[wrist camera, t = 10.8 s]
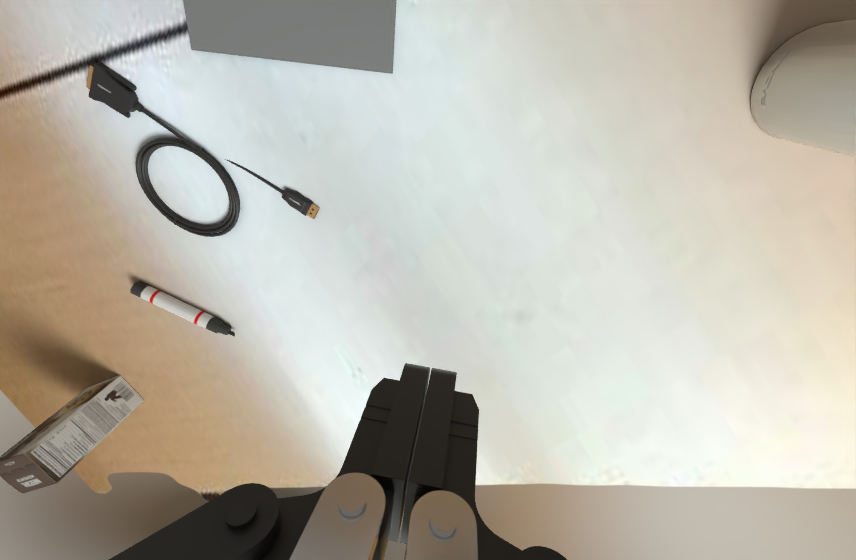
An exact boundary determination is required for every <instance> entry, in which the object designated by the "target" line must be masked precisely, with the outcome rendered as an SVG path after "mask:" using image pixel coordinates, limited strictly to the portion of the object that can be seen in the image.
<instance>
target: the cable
mask: <svg viewBox="0 0 856 560" xmlns="http://www.w3.org/2000/svg"><path fill="white" fill-rule="evenodd" d="M87 88H89V89H90V91H89V97H90V98H92V99H93V100H97V101H101V102H103V103H105V104H106V105H108V106H110V107H111V108H113V109H114V110H116V111H117V112H119V113H121V114H122V115H124V116H126V117H127V118H129V117H130V114H129V113H127V112H134V111H136V110H138V111H139V112H143V113H145V114H146V115H148V116H149V117H150V118H152V119H153V120H155V121H156V122H158V123H159V124H160V125H162V126H163V127H165V128H166V129H168V130H169V131H170V132H172V133H173V134H175V135H176V136H177V137H178V138H180V139H181V140H179V139H174V138H158V139H155V140H152V141H150V142H149V143H147V144H146V145H144V146H143V147H142V148H141V149H140V151H139V153H138V155H137V158H136V173H137V177H138V180H139V183H140V185H141V187H142V189H143V191H144V193H145V194H146V196H147V197H148V199H149V200H150V201H151V203H152V204H153V205H154V206H155V207H156V208H157V209H158V210H159V211H160V212H161V213H162V214H163V215H164V216H165V217H166V218H168V219H169V220H170V221H171V222H173V223H174V224H175V225H177V226H179V227H181V228H182V229H184V230H186V231H189V232H191V233H194V234H197V235H201V236H209V237H214V236H220V235H223V234H226V233H227V232H229V231H230V230H231V229H232V228H233V227H234V226H235V224H236V223H237V220H238V217H239V212H240V199H239V194H238V191H237V188H236V186H235V184H234V182H233V180H232V178H231V177H230V175H229V174H228V172H227V171H226V170H225V168H224V167H223V166H222V165H221V164H220V163H219V162H218V161H217V160H216V159H215V158H214V157H213V156H211V155H210V154H209V153H207V152H206V151H204V150H203V148H202V149H201V148H200V147H198V146H196V145H194V144H192V143H190V142H189V141H188V140H186V139H185V138H184V137H182V136H181V135H180V134H179V133H177V132H176V131H175V130H173V129H172V128H170V127H169V126H167V125H166V124H165V123H163V122H162V121H160V120H159V119H158V118H156V117H155V116H153V115H152V114H150V113H149V112H148V111H146V110H145V109H144V107H143V106H142V105H140V104H139V101H138V97H137V95H136V93H135V92H134V91H135V90H136V89H137V88H136V87H135V86H134V85H132V84H131V83H130V82H128V81H127V80H125V79H124V78H123V77H121V76H120V75H118V74H117V73H115V72H114V71H112V70H110V69H109V68H108V67H107V66H106V65H104V64H103V63H94V66H90V68H89V74H88V80H87ZM133 90H134V91H133ZM164 146H177V147H181V148H184V149H186V150H189V151H191V152H193V153H194V154H196V155H198V156H199V157H201V158H202V159H203V160H204V161H206V162H207V163H208V164H209V165H210V166H211V167H212V168H213V169H214V170H215V171H216V173H217V174H218V175H219V177H220V178H221V180H222V181H223V183H224V185H225V187H226V189H227V192H228V196H229V201H230V208H229V213H228V215H227V217H226V218H225V219H224V220H223V221H221V222H220V223H218V224H214V225H201V224H196V223H193V222H190V221H188V220H186V219H184V218H182V217H181V216H179V215H177V214H176V213H175V212H173V211H172V210H171V209H170V208H169V207H167V206H166V205H165V204H164V202H163V201H162V200H161V199H160V198H159V196H158V195H157V193H156V192H155V190H154V188H153V186H152V184H151V182H150V179H149V175H148V161H149V158H150V156H151V154H152V153H153V152H154V151H155V150H156V149H158V148H161V147H164ZM225 160H226V159H225ZM227 161H229V160H227ZM229 162H231V163H233V164H235V165H236V166H238V167H240V168H242V169H244V170H246V171H247V172H249V173H250V174H252V175H254V176H255V177H257V178H259V179H260V180H262V181H263V182H265V183H266V184H268V185H270V186H271V187H273V188H274V189H276V190H277V191H279V192H281V193H282V194H283V195H282V198H283V199H284V200H285V201H286V202H287V203H288V204H289V205H290V206H291V207H293V208H295V209H296V210H298V211H299V212H301V213H302V214H303V215H305V216H306V215H308V216H309V217H311V218H312V219H314V218H315V216H316V214H317V212H318V210H319V209H320V208H319V207H318V206H316V205H315V204H313V202H312V201H311V200H309V199H307V198H305V197H304V196H302V195H301V194H300V193H298V192H296V191H292V190H290V189H288V188H287V189H286V190H285V191H283V190H281V189H280V188H278V187H277V186H275V185H273V184H272V183H270V182H269V181H267V180H265V179H264V178H262V177H260V176H259V175H257V174H255V173H253V172H252V171H250V170H248V169H246V168H244V167H242V166H240V165H238V164H236V163H234V162H232V161H229ZM221 231H222V232H221ZM217 232H219V233H217ZM211 233H213V234H211Z"/></svg>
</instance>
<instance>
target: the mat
mask: <svg viewBox="0 0 856 560" xmlns="http://www.w3.org/2000/svg"><path fill="white" fill-rule="evenodd" d="M184 6H185V13H186V19H187V25H188V31H189V37H190V43H191V49H192V50H197V51H206V52H214V53H223V54H231V55H240V56H248V57H256V58H265V59H273V60H282V61H290V62H299V63H307V64H316V65H324V66H333V67H341V68H349V69H358V70H366V71H375V72H383V73H393V55H394V35H395V15H396V0H184Z"/></svg>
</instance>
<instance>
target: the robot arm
mask: <svg viewBox="0 0 856 560" xmlns="http://www.w3.org/2000/svg"><path fill="white" fill-rule="evenodd" d="M751 111H752V115H753V117H754V120H755V122H756V123H757V125H758V126H759V127H760V128H761V129H762V130H763V131H764V132H766V133H767V134H769V135H771V136H774V137H777V138H780V139H784V140H788V141H792V142H796V143H800V144H804V145H807V146H811V147H815V148H820V149H824V150H828V151H832V152H836V153H840V154H844V155H848V156H852V157H856V19H854V20H847V21H839V22H832V23H825V24H821V25H818V26H815V27H811V28H809V29H807V30H805V31H803V32H801V33H799V34H797V35H795V36H794V37H792V38H791V39H789V40H788V41H787V42H785V43H784V44H783V45H782V46H780V47H779V48H778V49H777V50H776V51H775V52H774V53H773V54H772V55H771V57H770V58H769V59H768V60H767V62H766V63H765V64H764V66H763V67H762V69H761V71H760V72H759V74H758V76H757V78H756V81H755V83H754V86H753V89H752V95H751ZM429 373H430V368H429V367H424V366H418V365H413V364H407V363H405V366H404V369H403V372H402V375H401V378H400V381H398V380H393V379H387V378H383V379H382V380H381V381H380V382H379V383H378V384H377V385H376V386H375V387H374V388H373V389H372V391H371V393H370V396H369V398H368V401H367V404H366V407H365V409H364V411H363V414H362V417H361V420H360V422H359V424H358V427H357V430H356V432H355V435H354V437H353V440H352V443H351V445H350V448H349V450H348V453H347V456H346V458H345V461H344V463H343V466H342V468H341V470H340V472H339V474H338V475H337V477H336V478H335V479H334V480H333V481H332V482H330V483H329V484H328V486H326V487H325V488H323V489H322V490H320V491H317V492H315V493H312V494H309V495H304V496H295V497H287V498H279V499H277V497H276V495H275V493H274V492H273V491H272V490H271V489H270V488H269V487H267V486H265V485H261V484H255V483H250V484H243V485H240V486H237V487H234V488H232V489H230V490H228V491H227V492H225V493H223V494H221V495H220V496H218V497H216V498H214V499H213V500H211V501H209V502H208V503H206V504H204V505H202V506H201V507H199V508H198V509H196V510H194V511H192V512H190V513H189V514H187V515H185V516H183V517H182V518H180V519H178V520H177V521H175V522H173V523H171V524H170V525H168V526H166V527H165V528H163V529H161V530H159V531H158V532H156V533H154V534H152V535H151V536H149V537H148V538H146V539H144V540H142V541H140V542H139V543H137V544H135V545H133V546H132V547H130V548H128V549H127V550H125V551H123V552H121V553H120V554H118V555H116V556H114V557H113V558H111V559H109V560H384V556H385V552H386V548H387V543H388V540H391V541H395V542H397V541H398V536H399V531H400V526H401V522H402V516H403V512H404V517H403V524H402V531H401V539H400V542H401V543H405V544H407V545H406V551H405V559H404V560H567V559H566V558H565V557H563V556H562V555H561V554H559V553H558V552H556V551H554V550H552V549H550V548H546V547H542V546H533V547H529V548H527V549H525V550H523V551H522V550H520V549H518V548H517V547H515V546H513V545H512V544H510V543H508V542H507V541H505V540H503V539H502V538H500V537H499V536H497V535H496V534H494V533H493V532H492V531H491V530H490V529H489V528H488V527H487V526H486V525H485V524H484V522H483V521H482V519H481V517H480V515H479V513H478V511H477V508H476V503H475V479H476V459H477V438H478V418H479V409H478V407H477V404H476V402H475V400H474V397H473V395H472V394H468V393H462V392H457V391H454V390H455V382H456V374H457V372H452V371H446V370H441V369H435V368H432V370H431V375H430V380H429ZM428 380H429V384H428ZM427 387H428V389H427ZM404 507H405V508H404Z"/></svg>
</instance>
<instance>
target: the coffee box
mask: <svg viewBox="0 0 856 560" xmlns="http://www.w3.org/2000/svg"><path fill="white" fill-rule="evenodd" d="M143 401H144V399H143V398H142V397H141V396H140V395H139V394H138V393H137V392H136V391H135V390H134V389H133V388H132V387H131V386H130V385H129V384H128V383H127V382H126V381H125V380H124V379H123V378H122V377H121V376H120V375H118V376H115V377H113V378H110V379H108V380H105V381H103V382H100V383H98V384H95V385H93V386H90V387H87V388H86V389H85V390H83V391H82V392H81V393H80V394H78V395H77V396H76V397H75V398H74V399H72V400H71V401H70V402H68V403H67V404H66V405H65V406H63V407H62V408H61V409H60V410H58V411H57V412H56V413H55V414H53V415H52V416H51V417H50V418H48V419H47V420H46V421H44V422H43V423H42V424H41V425H39V426H38V427H37V428H36V429H34V430H33V431H32V432H31V433H29V434H28V435H27V436H26V437H24V438H23V439H22V440H21V441H19V442H18V443H17V444H16V445H14V446H13V447H12V448H11V449H9V450H8V451H7V452H6V453H4V454H3V455H2V456H1V457H0V476H1V477H2V478H3V479H4V480H5V481H6V482H7V483H9V484H10V485H11V486H13V487H14V488H15V489H17V490H18V491H19V492H21V493H26V492H29V491H33V490H36V489H39V488H43V487H46V486H49V485H53V484H56V483H58V482H59V481H60V480H61V479H62V478H63V477H64V476H65V475H66V474H67V473H68V472H69V471H70V470H72V469H73V468H74V467H75V466H76V465H77V464H78V463H79V462H80V461H81V460H82V459H83V458H84V457H85V456H86V455H87V454H88V453H89V452H90V451H92V450H93V449H94V448H95V447H96V446H97V445H98V444H99V443H100V442H101V441H102V440H103V439H104V438H105V437H106V436H107V435H108V434H109V433H110V432H112V431H113V430H114V429H115V428H116V427H117V426H118V425H119V424H120V423H121V422H122V421H123V420H124V419H125V418H126V417H127V416H128V415H130V414H131V413H132V412H133V411H134V410H135V409H136V408H137V407H138V406H139V405H140V404H141V403H142V402H143Z"/></svg>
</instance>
